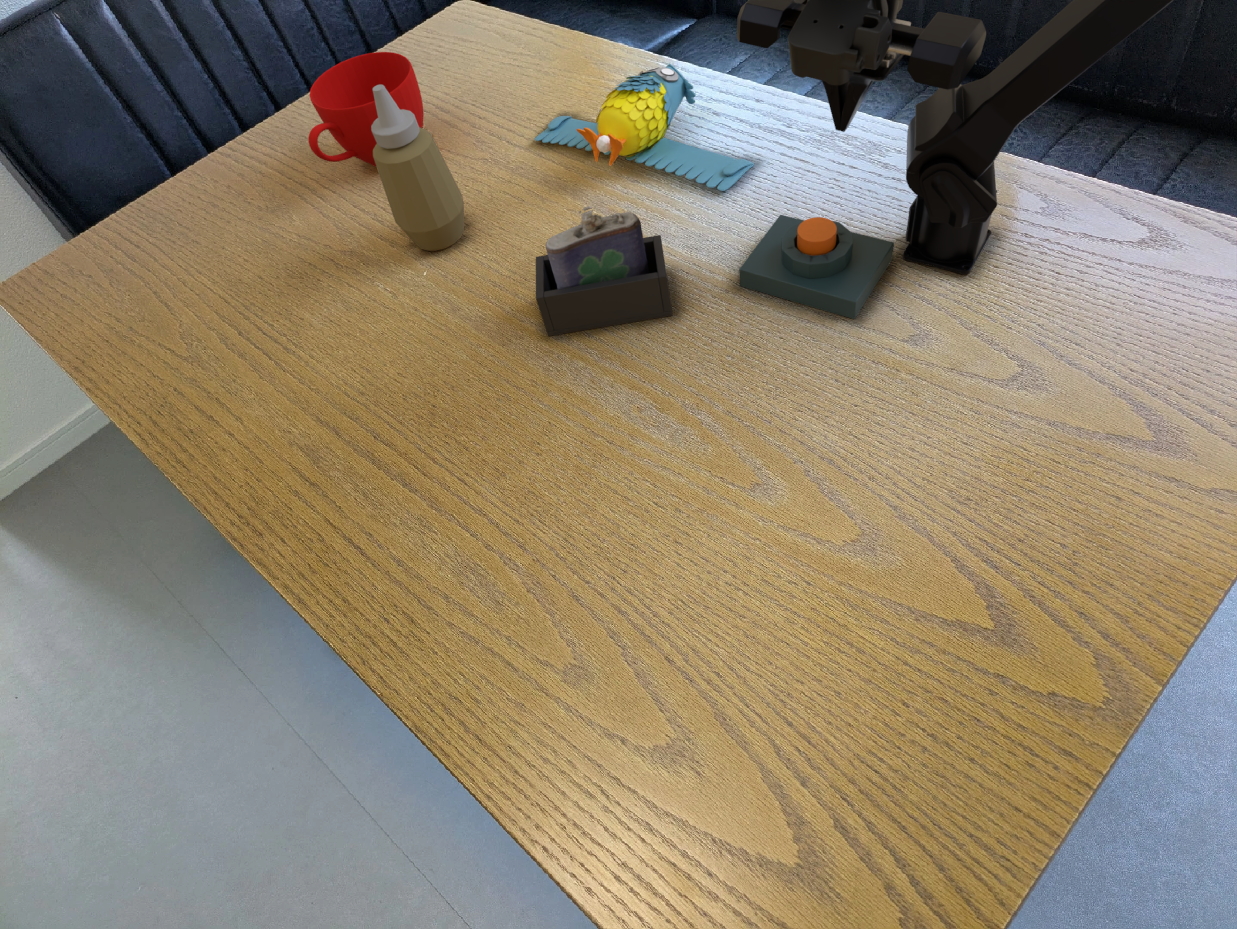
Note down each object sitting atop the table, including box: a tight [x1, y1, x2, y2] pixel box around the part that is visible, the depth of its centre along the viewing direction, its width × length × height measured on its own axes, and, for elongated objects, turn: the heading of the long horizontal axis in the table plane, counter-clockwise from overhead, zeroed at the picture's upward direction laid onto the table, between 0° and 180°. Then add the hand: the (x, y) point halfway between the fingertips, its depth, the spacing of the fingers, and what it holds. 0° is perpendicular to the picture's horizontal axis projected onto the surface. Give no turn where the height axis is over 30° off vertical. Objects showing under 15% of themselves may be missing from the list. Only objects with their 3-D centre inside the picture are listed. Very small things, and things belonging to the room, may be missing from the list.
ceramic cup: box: [307, 51, 424, 168], centre depth 102 cm, size 13×17×10 cm
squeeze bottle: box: [371, 85, 465, 252], centre depth 87 cm, size 8×8×18 cm
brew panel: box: [738, 214, 895, 320], centre depth 79 cm, size 12×9×4 cm
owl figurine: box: [534, 63, 755, 192], centre depth 95 cm, size 28×9×15 cm
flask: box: [545, 205, 650, 289], centre depth 78 cm, size 9×3×11 cm, turn 106°
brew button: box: [797, 216, 837, 256], centre depth 77 cm, size 4×4×2 cm
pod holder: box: [535, 234, 674, 337], centre depth 81 cm, size 13×6×5 cm, turn 94°
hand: (842, 128), depth 72 cm, fingers closed
